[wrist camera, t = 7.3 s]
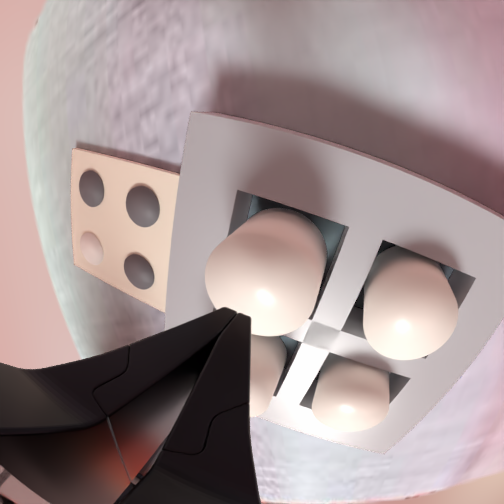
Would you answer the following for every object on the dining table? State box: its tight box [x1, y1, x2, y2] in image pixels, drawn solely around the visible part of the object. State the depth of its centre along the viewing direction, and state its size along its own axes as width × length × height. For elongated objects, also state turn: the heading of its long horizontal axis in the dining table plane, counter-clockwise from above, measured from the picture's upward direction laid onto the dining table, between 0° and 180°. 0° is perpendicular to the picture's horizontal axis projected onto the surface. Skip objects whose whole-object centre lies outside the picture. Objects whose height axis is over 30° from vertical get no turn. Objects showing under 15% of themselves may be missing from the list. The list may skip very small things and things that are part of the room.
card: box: [71, 148, 180, 313], centre depth 18 cm, size 9×9×1 cm
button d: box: [205, 208, 327, 336], centre depth 12 cm, size 4×4×3 cm
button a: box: [312, 352, 389, 432], centre depth 15 cm, size 4×4×3 cm
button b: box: [249, 334, 287, 417], centre depth 14 cm, size 4×4×3 cm
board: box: [164, 111, 504, 454], centre depth 14 cm, size 16×16×2 cm
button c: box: [363, 246, 458, 360], centre depth 12 cm, size 4×4×3 cm
